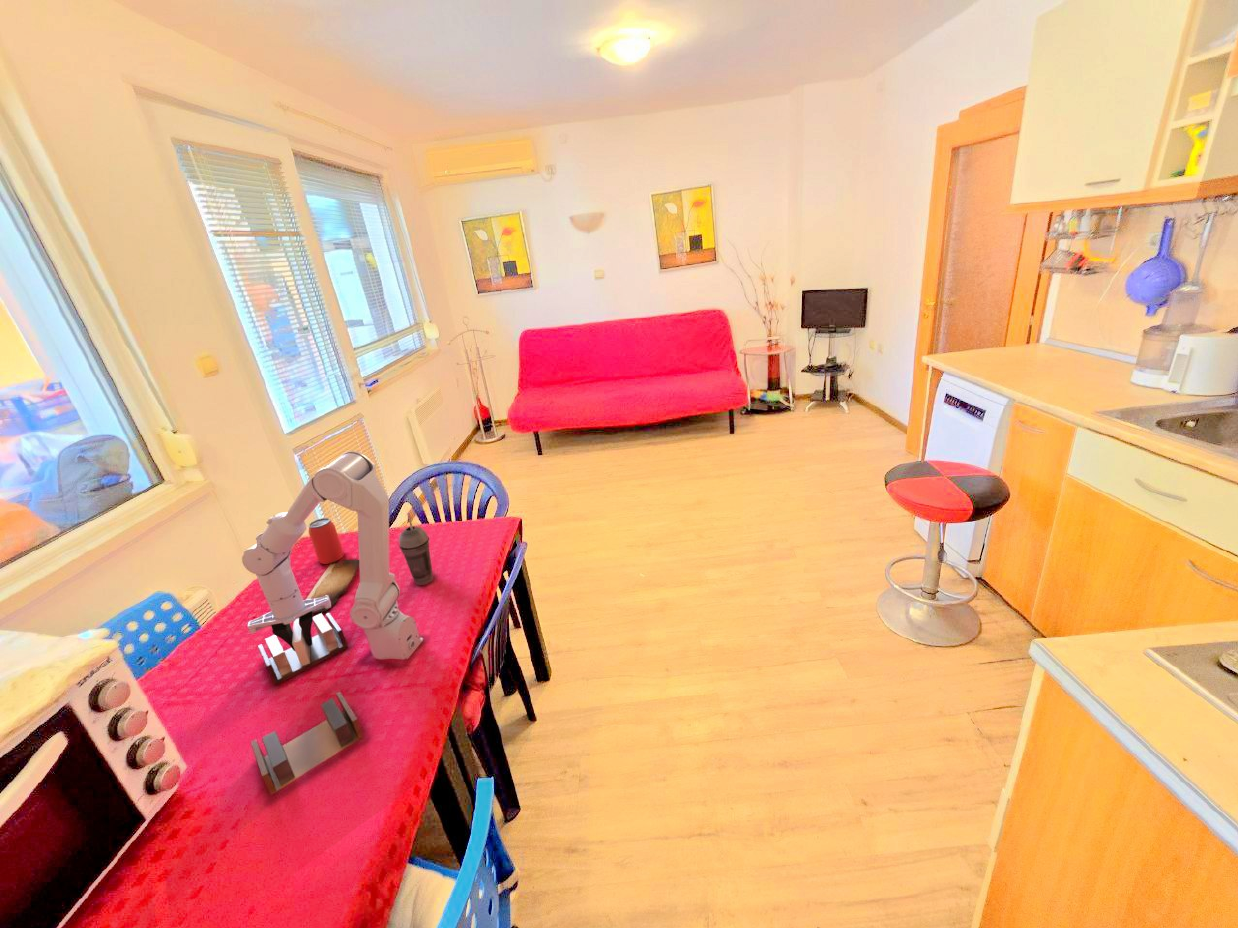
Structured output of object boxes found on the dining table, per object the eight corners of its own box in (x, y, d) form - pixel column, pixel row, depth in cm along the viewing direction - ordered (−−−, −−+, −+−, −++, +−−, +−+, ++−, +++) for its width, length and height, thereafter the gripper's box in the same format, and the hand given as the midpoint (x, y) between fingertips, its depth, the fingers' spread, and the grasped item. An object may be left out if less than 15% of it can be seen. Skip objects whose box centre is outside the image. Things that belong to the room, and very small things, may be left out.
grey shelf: (348, 711, 93) (340, 691, 92) (365, 739, 87) (357, 718, 85) (260, 763, 85) (250, 741, 83) (272, 799, 78) (262, 776, 77)
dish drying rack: (335, 629, 116) (327, 608, 114) (348, 647, 110) (340, 625, 108) (265, 664, 107) (255, 641, 105) (275, 685, 101) (265, 662, 99)
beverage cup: (429, 569, 137) (412, 503, 130) (444, 577, 133) (427, 510, 125) (404, 582, 132) (385, 514, 125) (418, 591, 128) (399, 522, 120)
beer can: (322, 555, 149) (309, 520, 144) (346, 550, 151) (334, 515, 146) (316, 567, 143) (303, 530, 139) (342, 561, 145) (329, 525, 140)
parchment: (332, 562, 144) (331, 560, 144) (367, 557, 145) (366, 554, 145) (292, 619, 121) (291, 616, 121) (335, 611, 122) (333, 608, 122)
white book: (310, 638, 112) (301, 616, 110) (310, 663, 105) (301, 640, 103) (302, 641, 112) (293, 619, 109) (301, 666, 104) (292, 643, 102)
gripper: (237, 616, 96) (261, 671, 101) (322, 589, 102) (341, 642, 107) (241, 598, 102) (264, 651, 107) (322, 573, 108) (340, 624, 113)
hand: (303, 645), depth 108 cm, fingers closed
